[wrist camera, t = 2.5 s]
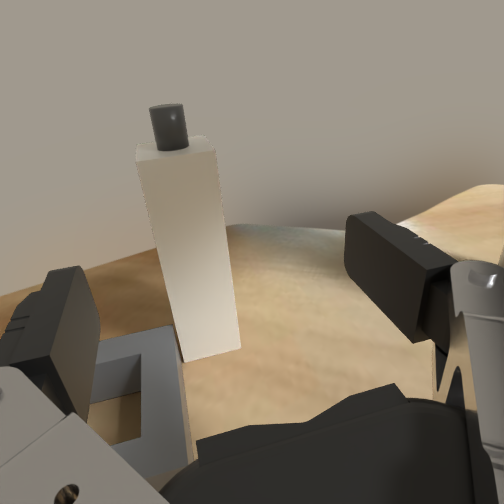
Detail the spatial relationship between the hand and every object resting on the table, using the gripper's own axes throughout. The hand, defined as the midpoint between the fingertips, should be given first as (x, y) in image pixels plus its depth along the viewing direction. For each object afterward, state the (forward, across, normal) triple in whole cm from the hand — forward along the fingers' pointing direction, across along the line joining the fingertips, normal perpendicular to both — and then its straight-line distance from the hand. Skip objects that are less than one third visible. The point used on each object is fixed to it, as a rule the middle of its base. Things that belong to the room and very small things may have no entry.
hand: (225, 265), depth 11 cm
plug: (+15, 0, +15) cm, 21 cm away
